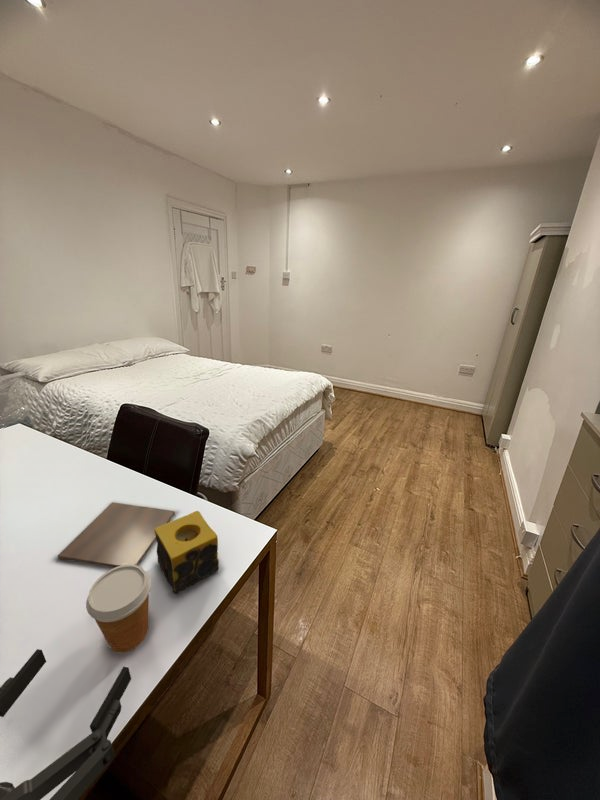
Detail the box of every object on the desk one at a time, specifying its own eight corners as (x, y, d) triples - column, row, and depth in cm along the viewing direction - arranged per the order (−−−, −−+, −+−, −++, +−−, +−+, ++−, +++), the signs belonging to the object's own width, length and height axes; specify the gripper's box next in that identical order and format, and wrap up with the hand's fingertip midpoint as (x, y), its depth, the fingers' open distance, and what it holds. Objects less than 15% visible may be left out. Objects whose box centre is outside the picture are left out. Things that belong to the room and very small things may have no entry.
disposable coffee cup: (84, 651, 54) (69, 603, 50) (128, 601, 63) (118, 555, 58) (130, 672, 52) (118, 623, 48) (169, 617, 60) (162, 571, 56)
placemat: (58, 558, 71) (57, 555, 71) (112, 504, 88) (112, 502, 87) (133, 570, 69) (133, 568, 69) (174, 513, 86) (174, 511, 86)
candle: (157, 562, 71) (151, 528, 68) (200, 541, 78) (197, 508, 74) (174, 597, 64) (169, 560, 61) (220, 570, 70) (218, 535, 67)
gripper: (-205, 920, 30) (14, 663, 49) (37, 1000, 27) (167, 695, 47) (-252, 891, 27) (0, 631, 47) (12, 977, 24) (161, 663, 44)
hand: (84, 663), depth 47 cm, fingers open, 13 cm apart
